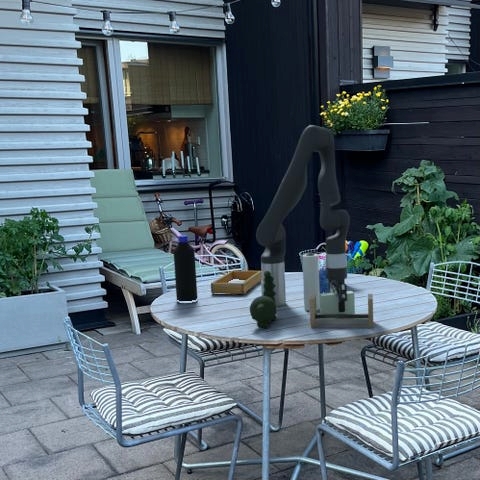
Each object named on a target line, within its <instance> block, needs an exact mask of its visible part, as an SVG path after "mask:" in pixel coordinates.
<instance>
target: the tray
mask: <svg viewBox="0 0 480 480" xmlns="http://www.w3.org/2000/svg"><path fill="white" fill-rule="evenodd" d="M233 279H239V280H245V281H244V282H243V283H228V282H229V281H231V280H233ZM261 280H262V270H230V271H229V272H227V273H225V274H224V275H223V276H220V277H219V278H217V279H215V280H213V281H212V282H211V283H210V293H230V294H229V295H237V294H244V295H246V293H248V292H249V291H250V290H252V289H253V288H254V287H255V286H254V285H256V284H257V283H258V282H260V281H261ZM261 282H262V281H261ZM261 282H260V283H261ZM258 284H259V283H258ZM258 284H257V285H258ZM257 285H256V286H257ZM253 286H254V287H253ZM252 287H253V288H252ZM251 288H252V289H251ZM249 289H250V290H249ZM248 290H249V291H248ZM247 291H248V292H247Z"/></svg>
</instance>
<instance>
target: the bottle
mask: <svg viewBox="0 0 480 480" xmlns="http://www.w3.org/2000/svg"><path fill="white" fill-rule="evenodd" d="M177 241H178V243H177V245H176V246H175V248H174V249H173V262H174V263H173V264H174V278H175V279H174V281H175V293H176V294H175V295H176V301H177V300H179V301H192V300H196V299H197V298H198V287H197V285H198V284H197V270H196V255H195V254H196V252H195V248H194V247H193V246H192V244H190V242H189V237H188V235H184V234H183V235H178V236H177Z"/></svg>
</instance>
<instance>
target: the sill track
mask: <svg viewBox="0 0 480 480" xmlns="http://www.w3.org/2000/svg"><path fill="white" fill-rule="evenodd" d="M367 307H368V309H367V313H355V314H320V313H318V312H317V311H318V310H317V308H316V294H311V297H310V311H309V319H310V320H309V321H310V328H311V329H374V297H373V293H367Z"/></svg>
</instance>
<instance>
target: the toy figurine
mask: <svg viewBox="0 0 480 480" xmlns="http://www.w3.org/2000/svg"><path fill="white" fill-rule="evenodd" d="M264 276H265V278H264V282H265V283H264V285H263V287H264V289H265V290H264V292H263V296H262V295H260V296H257V297H256V298H254V299H253V300H252V301H251V304H250V305H249V312H250V316H251V319H252V320H253V321H256V325H257V327H258V328H259V329H268V328H269V327H270V323H273V324H274V323H275V322H276V321H277V318H278V316H277V314H278V306H276V304H275V303H276V302H275V298H274V295H276V292H274V290H273V289H274V287H275V284H273V280H274V278H273V277H272V276H271V273H270V272H269V271H265V272H264Z"/></svg>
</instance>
